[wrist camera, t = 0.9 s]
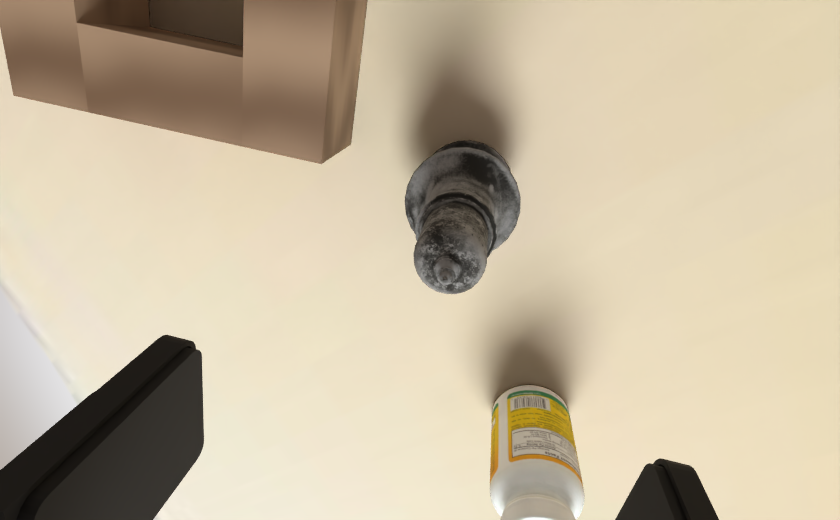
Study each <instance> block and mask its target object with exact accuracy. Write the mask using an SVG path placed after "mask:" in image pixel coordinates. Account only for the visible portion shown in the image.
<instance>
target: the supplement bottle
mask: <svg viewBox="0 0 840 520" xmlns="http://www.w3.org/2000/svg"><path fill="white" fill-rule="evenodd" d="M490 496H491V500H492V503H493V505H494V508H495V509H496V511H497V512H498V514H499V515H500V516H501V520H576V519H577V518H578V517H579V515H580V513H581V512H582V509H583V505H584V489H583V484H582V479H581V473H580V468H579V463H578V457H577V452H576V447H575V442H574V436H573V431H572V425H571V420H570V415H569V411H568V408H567V406H566V404H565V402H564V401H563V400H562V399H561V398H560V397H559V396H558V395H557V394H555V393H554V392H552V391H551V390H549V389H546V388H544V387H540V386H535V385H523V386H517V387H514V388H511V389H509V390H507V391H506V392H504V393H503V394H502V395H501V396H500V397H499V398H498V399H497V400H496V402H495V404H494V407H493V411H492V432H491V469H490Z"/></svg>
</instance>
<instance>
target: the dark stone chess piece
mask: <svg viewBox="0 0 840 520" xmlns="http://www.w3.org/2000/svg"><path fill="white" fill-rule="evenodd" d="M405 208H406V215H407V218H408V221H409V224H410V226H411V228H412V230H413V231H414V233H415V234H416V240H417V243H416V245H415V250H414V264H415V268H416V271H417V273H418V275H419V277H420V278H421V280H422V281H423V282H424V283H425V284H426V285H427V286H428V287H430V288H431V289H433V290H435V291H437V292H441V293H445V294H458V293H462V292H465V291H467V290H469V289H471V288H472V287H473V286H474V285H475V284H477V283H478V281H479V280H480V278H481V277H482V275H483V273H484V271H485V267H486V264H487V257H489V255H490V253H491V252H492V250H494V249H496V248H498V247H499V246H500V245H501V244H502V243H503V242H504V241H505V240H507V239H508V237H509V236H510V234H511V233H512V231H513V230H514V228H515V226H516V224H517V220H518V217H519V214H520V194H519V190H518V186H517V182H516V181H515V179H514V177H513V175H512V174H511V172H510V170H509V167H508V166H507V164H506V162H505V160H504V159H503V157H502V156H501V155H499V154H498V153H497V152H496V151H495V150H494V149H493V148H491V147H489V146H487V145H485V144H483V143H479V142H475V141H457V142H454V143H451V144H448V145H446V146H444V147H442V148H441V149H439V150H438V151H436V152H435V153H434V155H433V156H431V157H429V158H428V159H426V160H425V161H424V162H423V163H422V164H421V165H420V166H419V167H418V168H417V169H416V171H415V172H414V173H413V175H412V177H411V179H410V181H409V184H408V186H407V191H406V196H405Z"/></svg>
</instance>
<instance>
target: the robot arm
mask: <svg viewBox="0 0 840 520" xmlns="http://www.w3.org/2000/svg"><path fill="white" fill-rule="evenodd" d="M203 444H204V429H203V388H202V355H201V352H200V351H199V350H196V347H195V344H194V342H192V341H189V340H185V339H181V338H177V337H173V336H169V335H164V336H162V337H160V338H159V339H157V340H156V341H155V342H154V343H153V344H151V345H150V346H149V347H148V348H147V349H146V350H144V351H143V352H142V353H141V354H140V355H138V356H137V357H136V358H135V359H134V360H133V361H131V362H130V363H129V364H128V365H127V366H125V367H124V368H123V369H122V370H121V371H120V372H118V373H117V374H116V375H115V376H114V377H112V378H111V379H110V380H109V381H108V382H106V383H105V384H104V385H103V386H102V387H101V388H99V389H98V390H97V391H95V392H94V393H92V394H91V395H89V396H88V397H87V398H86V399H85V400H83V401H82V402H81V403H80V404H79V405H77V406H76V407H75V408H74V409H73V410H72V411H70V412H69V413H68V414H67V415H65V416H64V417H63V418H62V419H61V420H60V421H58V422H57V423H56V424H55V425H54V426H52V427H51V428H50V429H49V430H48V431H46V432H45V433H44V434H43V435H42V436H41V437H39V438H38V439H37V440H36V441H35V442H33V443H32V444H31V445H30V446H29V447H27V448H26V449H25V450H24V451H23V452H21V453H20V454H19V455H18V456H17V457H16V458H14V459H13V460H12V461H11V462H10V463H8V464H7V465H6V466H5V467H4V468H3V469H1V470H0V520H153V519H154V517H155V516H156V515H157V513H158V512H159V511H160V509H161V508H162V507H163V505H164V504H165V502H166V501H167V500H168V498H169V497H170V496H171V494H172V493H173V492H174V490H175V489H176V488H177V486H178V485H179V483H180V482H181V481H182V479H183V478H184V477H185V475H186V474H187V473H188V471H189V470H190V468H191V467H192V466H193V464H194V463H195V462H196V460H197V459H198V457H199V455H200V453H201V451H202V448H203ZM615 520H719V519H718V517H717V515H716V513H715V510H714V508H713V506H712V504H711V502H710V500H709V498H708V496H707V494H706V492H705V490H704V487H703V485H702V483H701V481H700V479H699V477H698V475H697V473H696V471H695V470H694V468H692V467H691V466H689V465H685V464H681V463H677V462H673V461H669V460H665V459H658V460H656V461H655V462H654V464H647V465H646V466H645V467H644V469H643V471H642V472H641V474H640V476H639V478H638V480H637V481H636V483H635V485H634V487H633V489H632V490H631V492H630V494H629V496H628V498H627V499H626V501H625V503H624V505H623V507H622V508H621V510H620V512H619V514H618V516H617V518H616V519H615Z"/></svg>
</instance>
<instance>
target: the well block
mask: <svg viewBox="0 0 840 520" xmlns="http://www.w3.org/2000/svg"><path fill="white" fill-rule="evenodd" d="M366 8H367V0H244V12H243V46H239V45H234V44H229V43H224V42H220V41H215V40H210V39H205V38H201V37H196V36H191V35H186V34H181V33H177V32H172V31H167V30H162V29H158V28H153V27H150V17H149V2H148V0H0V28H1V34H2V39H3V44H4V49H5V54H6V59H7V64H8V69H9V74H10V79H11V85H12V90H13V95H14V96H18V97H22V98H27V99H31V100H36V101H40V102H45V103H49V104H54V105H58V106H63V107H67V108H72V109H76V110H81V111H85V112H90V113H94V114H99V115H103V116H108V117H112V118H117V119H121V120H126V121H130V122H135V123H139V124H144V125H148V126H153V127H157V128H162V129H166V130H171V131H175V132H180V133H184V134H189V135H193V136H198V137H202V138H207V139H211V140H216V141H220V142H225V143H229V144H234V145H238V146H243V147H247V148H252V149H256V150H261V151H265V152H270V153H274V154H279V155H283V156H288V157H292V158H297V159H301V160H306V161H310V162H315V163H319V164H322V163H323V162H325V161H326V160H328V159H329V158H331V157H332V156H334V155H335V154H337V153H339V152H340V151H342V150H343V149H345V148H346V147H348V146H349V145H351V139H352V130H353V121H354V112H355V104H356V95H357V86H358V78H359V69H360V60H361V51H362V43H363V34H364V25H365V17H366Z"/></svg>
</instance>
